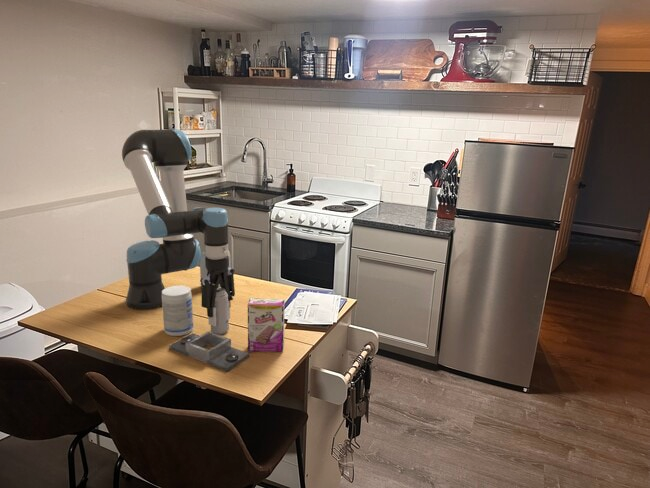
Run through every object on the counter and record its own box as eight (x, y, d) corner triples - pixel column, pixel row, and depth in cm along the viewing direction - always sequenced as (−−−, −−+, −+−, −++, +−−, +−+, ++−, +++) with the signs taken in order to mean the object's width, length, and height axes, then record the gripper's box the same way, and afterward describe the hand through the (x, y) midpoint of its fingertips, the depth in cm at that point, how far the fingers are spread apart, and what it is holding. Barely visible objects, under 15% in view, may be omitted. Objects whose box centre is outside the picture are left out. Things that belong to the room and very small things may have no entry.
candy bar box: (247, 352, 146) (246, 304, 141) (249, 344, 151) (248, 297, 146) (283, 353, 146) (283, 304, 141) (284, 345, 151) (284, 298, 146)
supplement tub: (195, 334, 156) (193, 293, 152) (166, 339, 152) (163, 297, 148) (191, 322, 165) (188, 283, 161) (162, 326, 161) (159, 287, 157)
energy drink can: (231, 333, 158) (230, 292, 153) (214, 337, 155) (212, 295, 150) (225, 326, 163) (224, 286, 158) (208, 329, 160) (206, 289, 155)
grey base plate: (169, 349, 147) (168, 337, 145) (192, 336, 155) (192, 325, 154) (227, 371, 135) (226, 359, 134) (249, 356, 143) (249, 345, 142)
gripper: (204, 266, 141) (207, 335, 148) (245, 250, 157) (246, 313, 164) (186, 261, 145) (190, 329, 151) (228, 247, 161) (230, 308, 167)
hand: (219, 321), depth 158 cm, fingers closed on energy drink can, 6 cm apart
